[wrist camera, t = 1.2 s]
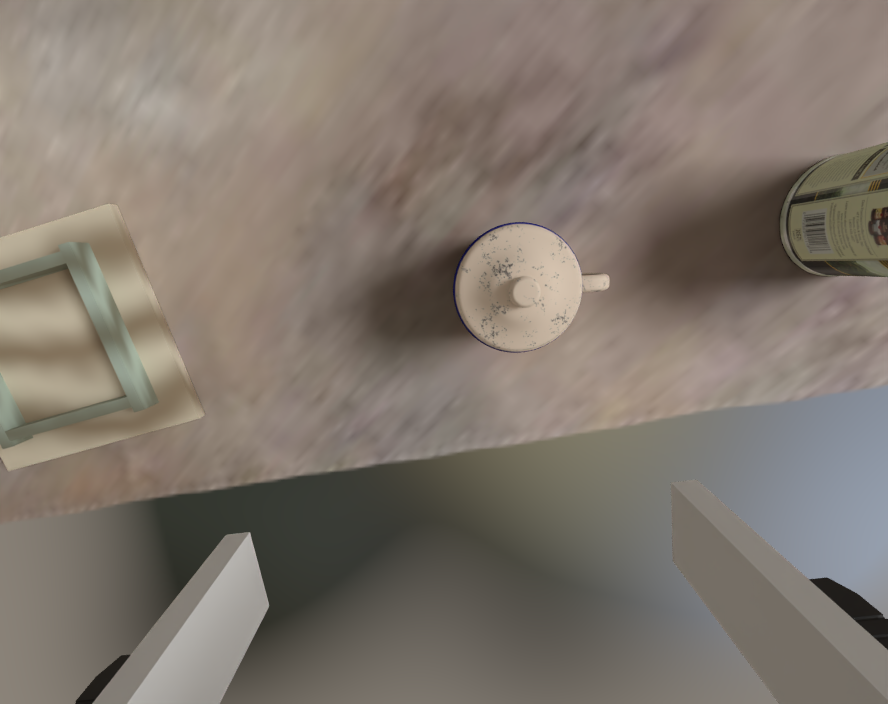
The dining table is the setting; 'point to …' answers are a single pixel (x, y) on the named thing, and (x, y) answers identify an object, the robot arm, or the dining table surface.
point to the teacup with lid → (520, 287)
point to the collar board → (82, 342)
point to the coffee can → (840, 215)
